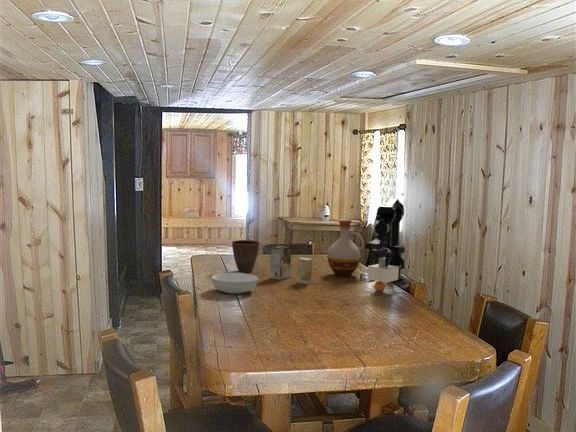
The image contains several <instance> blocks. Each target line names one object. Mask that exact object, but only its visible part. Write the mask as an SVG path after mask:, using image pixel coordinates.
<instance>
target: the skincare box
mask: <svg viewBox="0 0 576 432" xmlns="http://www.w3.org/2000/svg"><path fill="white" fill-rule="evenodd" d="M312 271H313V258H309V257H300V258H297V273H296V283H298V284H305V285H309V284H312Z"/></svg>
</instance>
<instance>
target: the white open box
mask: <svg viewBox="0 0 576 432" xmlns="http://www.w3.org/2000/svg"><path fill="white" fill-rule="evenodd" d="M398 271H399V267H396V266H391V265H388V266H387V267H386V256H383V257H381V258H379V262H378V263H377V264H371V265H368V266H367V280H370V281H371V280H372V281H375V282H378V281H380V282H383V283H384V284H385V283H391V282H394V281H395V280H398ZM398 281H399V280H398ZM395 282H396V281H395Z"/></svg>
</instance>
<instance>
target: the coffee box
mask: <svg viewBox="0 0 576 432" xmlns="http://www.w3.org/2000/svg"><path fill="white" fill-rule="evenodd" d="M291 251H292V250H291V246H288V245H287V246H286V245H278V246H272V247H270V272H269V273H270V277H269V278H271V279H274V280H279V281H280V280H284V279H287V278H290V277H291V256H292V255H291Z"/></svg>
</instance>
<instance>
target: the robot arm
mask: <svg viewBox="0 0 576 432" xmlns="http://www.w3.org/2000/svg"><path fill="white" fill-rule="evenodd" d="M404 215H405V206H404V204H403V203H401V202H400V199H398V198H388V200H387V202H386V203H385V204H381V205H378V207H377V209H376V215H375V221H377V222H378V223H376V224H375V227H374V231H375V233H376V234H377V235H376V238H375V239H372V241H368V242H365V243H364V249H366V250H371V251H372V252H373V253H374V254H375V256H376V258H377V262H378V263H379V258H381V257H384V254H385V258H386V267H387V266H388V265H391V266H396V267H399V271H398V280H395V282H396V281H401V280H400V276H401V277H402V275H401V273H402V272H401V271H402V270H403V269H405V267H406V265H405V264H406V263H405V258H404V257H403V253H406V249H405V247H404V246H402V245H400V234H401V232H400V231H401V230H400V229H401V227H400V224H401V221H402V220H403V217H404ZM384 250H386V252H384Z"/></svg>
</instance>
